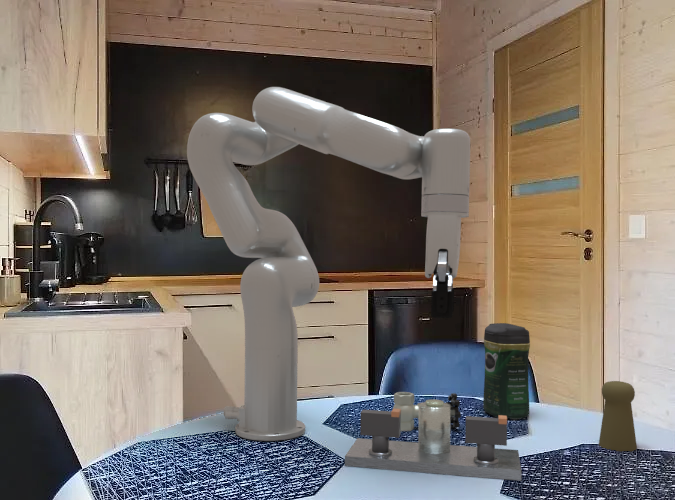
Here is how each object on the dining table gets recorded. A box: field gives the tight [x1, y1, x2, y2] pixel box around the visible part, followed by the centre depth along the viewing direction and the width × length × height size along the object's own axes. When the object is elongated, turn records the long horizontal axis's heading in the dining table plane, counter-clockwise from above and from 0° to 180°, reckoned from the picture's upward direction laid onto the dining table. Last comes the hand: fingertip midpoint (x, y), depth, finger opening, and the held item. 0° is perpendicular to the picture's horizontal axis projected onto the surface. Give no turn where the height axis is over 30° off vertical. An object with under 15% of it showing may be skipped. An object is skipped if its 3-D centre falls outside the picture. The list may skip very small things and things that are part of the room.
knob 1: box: [359, 408, 402, 453], centre depth 102 cm, size 6×3×6 cm, turn 77°
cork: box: [598, 380, 638, 452], centre depth 112 cm, size 6×6×11 cm
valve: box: [392, 391, 462, 432], centre depth 122 cm, size 7×7×12 cm
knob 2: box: [464, 415, 508, 462], centre depth 98 cm, size 6×3×6 cm, turn 77°
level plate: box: [344, 398, 522, 482], centre depth 102 cm, size 26×10×9 cm, turn 77°
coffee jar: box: [482, 322, 531, 420], centre depth 133 cm, size 10×8×19 cm
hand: (442, 314), depth 105 cm, fingers open, 9 cm apart
